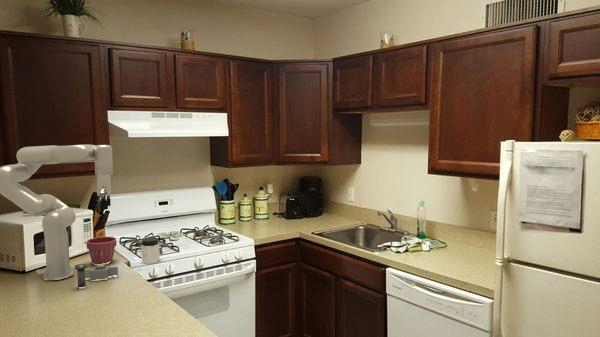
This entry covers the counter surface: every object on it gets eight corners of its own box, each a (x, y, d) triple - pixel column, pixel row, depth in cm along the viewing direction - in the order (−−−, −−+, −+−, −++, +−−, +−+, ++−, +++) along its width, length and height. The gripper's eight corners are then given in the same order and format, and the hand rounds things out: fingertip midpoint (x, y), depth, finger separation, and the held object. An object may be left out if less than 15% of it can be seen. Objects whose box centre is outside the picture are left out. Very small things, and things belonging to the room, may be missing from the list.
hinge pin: (74, 290, 179) (73, 267, 178) (77, 286, 183) (76, 264, 182) (86, 289, 180) (85, 266, 179) (89, 285, 184) (88, 263, 184)
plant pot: (115, 266, 212) (114, 241, 211) (84, 269, 208) (83, 243, 207) (118, 258, 225) (118, 235, 225) (90, 261, 222) (89, 237, 221)
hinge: (80, 282, 188) (80, 271, 188) (84, 277, 195) (84, 267, 195) (116, 279, 192) (116, 269, 192) (119, 274, 199) (118, 264, 199)
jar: (138, 262, 219) (137, 240, 218) (151, 258, 226) (150, 236, 225) (150, 265, 214) (149, 242, 213) (162, 260, 221) (162, 238, 221)
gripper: (98, 170, 201) (99, 205, 203) (92, 173, 185) (93, 211, 186) (114, 169, 204) (116, 204, 205) (110, 172, 187) (112, 210, 189)
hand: (105, 207), depth 196 cm, fingers open, 9 cm apart
